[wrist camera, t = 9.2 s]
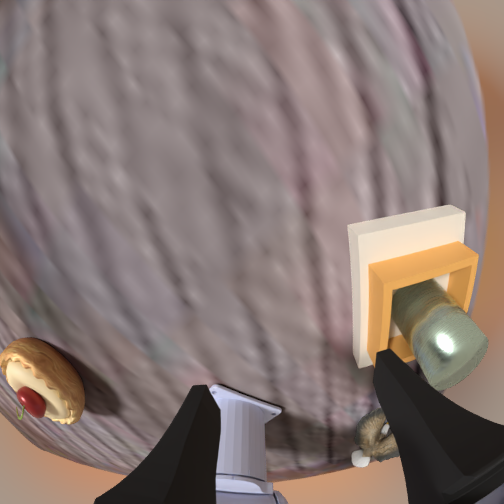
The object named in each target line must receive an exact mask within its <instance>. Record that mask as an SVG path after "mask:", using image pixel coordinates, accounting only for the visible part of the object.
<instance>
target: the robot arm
mask: <svg viewBox="0 0 504 504" xmlns="http://www.w3.org/2000/svg"><path fill="white" fill-rule="evenodd" d="M373 383H374V387H375V390H376V394H377V397H378V400H379V403H380V405H381V408H382V410H383V412H384V415H385V417H386V419H387V422H388V424H389V426H390V429H391V431H392V433H393V436H394V438H395V441H396V444H397V447H398V450H399V454H400V458H401V462H402V467H403V471H404V475H405V481H406V487H407V493H408V502H409V504H504V425H501V424H497V423H494V422H492V421H489V420H487V419H484V418H482V417H480V416H478V415H476V414H473V413H472V412H470V411H468V410H466V409H464V408H462V407H460V406H459V405H457V404H455V403H454V402H452V401H451V400H449V399H448V398H446V397H445V396H444V395H442V394H441V393H439V392H438V391H437V390H436V389H434V388H433V387H432V386H430V385H429V384H428V383H427V382H426V381H424V380H423V379H422V378H421V377H420V376H419V375H418V374H416V373H415V372H414V371H413V370H412V369H411V368H410V367H409V366H408V365H407V364H406V363H405V362H404V361H403V360H402V359H401V358H400V357H399V356H398V355H397V354H396V353H395V352H394V351H393V350H392V349H390V348H389V349H386V350H383V351H379V352H376V361H375V370H374V377H373ZM281 412H282V410H281V408H280V407H277V406H274V405H271V404H268V403H265V402H262V401H259V400H257V399H254V398H251V397H249V396H246V395H243V394H241V393H238V392H236V391H233V390H231V389H228V388H226V387H223V386H221V385H218V384H216V385H213V386H212V387H211V388H210V389H208V387H207V385H194V386H192V388H191V389H190V391H189V393H188V395H187V397H186V399H185V400H184V402H183V404H182V406H181V408H180V409H179V411H178V413H177V414H176V416H175V418H174V419H173V421H172V423H171V424H170V426H169V428H168V429H167V431H166V432H165V433H164V435H163V436H162V438H161V439H160V441H159V442H158V443H157V445H156V446H155V447H154V449H153V450H152V451H151V452H150V453H149V455H148V456H147V457H146V458H145V459H144V460H143V461H142V462H141V463H140V464H139V466H138V467H137V468H136V469H135V470H134V471H132V472H131V473H130V474H129V475H128V476H127V477H126V478H124V479H123V480H122V481H121V482H120V483H118V484H117V485H116V486H114V487H113V488H112V489H110V490H109V491H107V492H105V493H104V494H102V495H101V496H99V497H97V498H96V499H95V501H94V504H288V502H287V500H286V499H285V498H284V497H283V496H282V494H281V493H280V492H279V491H273V483H271V482H267V477H266V450H265V423H267V422H268V421H270V420H271V419H273V418H274V417H276V416H277V415H279V414H280V413H281Z"/></svg>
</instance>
